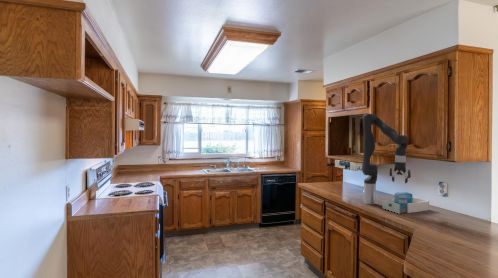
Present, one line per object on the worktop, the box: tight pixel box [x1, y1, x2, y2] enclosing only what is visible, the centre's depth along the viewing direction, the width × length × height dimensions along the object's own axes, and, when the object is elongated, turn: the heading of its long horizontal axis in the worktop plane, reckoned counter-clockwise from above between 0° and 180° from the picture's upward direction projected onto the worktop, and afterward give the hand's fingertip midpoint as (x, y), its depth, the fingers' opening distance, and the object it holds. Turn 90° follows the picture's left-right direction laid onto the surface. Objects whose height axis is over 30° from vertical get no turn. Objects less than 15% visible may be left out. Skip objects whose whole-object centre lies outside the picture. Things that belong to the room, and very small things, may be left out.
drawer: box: [382, 199, 407, 215], centre depth 225 cm, size 15×23×7 cm, turn 111°
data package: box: [393, 191, 413, 209], centre depth 226 cm, size 12×4×12 cm, turn 95°
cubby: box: [391, 196, 430, 214], centre depth 229 cm, size 15×22×7 cm
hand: (399, 182), depth 222 cm, fingers open, 8 cm apart
